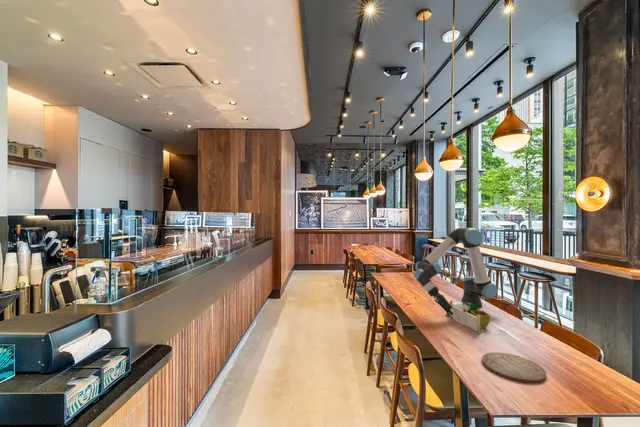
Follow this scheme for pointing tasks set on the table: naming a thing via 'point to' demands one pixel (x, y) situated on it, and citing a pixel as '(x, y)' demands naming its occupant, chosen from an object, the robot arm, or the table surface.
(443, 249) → the robot arm
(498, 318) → the table surface
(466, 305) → the milk carton
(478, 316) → the fence
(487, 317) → the flower pot
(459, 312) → the gate
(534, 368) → the trivet
